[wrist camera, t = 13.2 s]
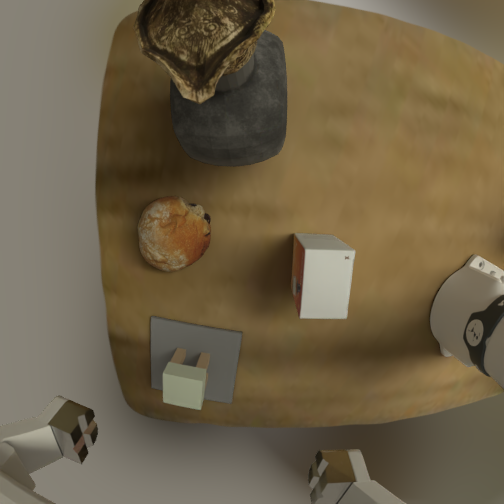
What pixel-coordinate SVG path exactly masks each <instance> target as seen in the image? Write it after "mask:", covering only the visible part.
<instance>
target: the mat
mask: <svg viewBox="0 0 504 504" xmlns="http://www.w3.org/2000/svg"><path fill="white" fill-rule="evenodd" d="M241 338H242V332H239V331H233V330H226V329H220V328H214V327H208V326H203V325H197V324H192V323H186V322H181V321H176V320H171V319H166V318H161V317H156V316H152V317H151V384H152V388H154V389H158V390H163V372H164V370H165V368H166V366H167V364H168V362H170V361H171V359H172V357H173V355H174V353H175V351H176V350H177V348H181V349H186V357H185V360H184V362H183V364H182V365H187V366H192V367H196V365H197V363H198V360H199V357H200V354H201V352H203V353H208V354H210V361H209V365H208V368H207V371H206V373H208V381H207V385H206V388H205V392H204V399H206V400H212V401H217V402H224V403H230V404H231V403H232V397H233V390H234V384H235V377H236V371H237V364H238V358H239V351H240V345H241Z"/></svg>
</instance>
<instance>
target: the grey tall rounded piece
mask: <svg viewBox="0 0 504 504" xmlns="http://www.w3.org/2000/svg"><path fill="white" fill-rule="evenodd" d="M274 13H275V4H274V0H144V1H143V3H142V4H141V5H140V6H139V9H138V14H137V19H136V21H135V24H134V30H135V33H136V36H137V39H138V43H139V47H140V50H141V53H142V54H144V55H146V56H147V57H149V58H150V59H152V60H153V61H155V62H156V63H158V64H159V65H160V66H161V67H162V68H163V69H164V70H165V72H166V73H167V74H168V75H169V76H170V77H171V82H170V101H171V115H172V123H173V129H174V132H175V134H176V136H177V138H178V140H179V142H180V145H181V146H182V148H183V149H184V151H185V152H186V153H187V154H188V155H189V156H190V157H191V158H193V159H196V160H198V161H201V162H203V163H207V164H212V165H217V166H233V167H235V166H244V165H251V164H254V163H258V162H262V161H265V160H267V159H269V158H271V157H273V156H275V155H277V154H278V153H279V152H280V150H281V149H282V147H283V144H284V141H285V136H286V125H287V75H286V62H285V54H284V47H283V42H282V41H281V40H280V39H279V37H278V36H276V35H274V34H272V33H271V32H268V31H266V30H265V29H266V28H267V27H268V25H269V24H270V22H271V21H272V19H273V17H274Z"/></svg>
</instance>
